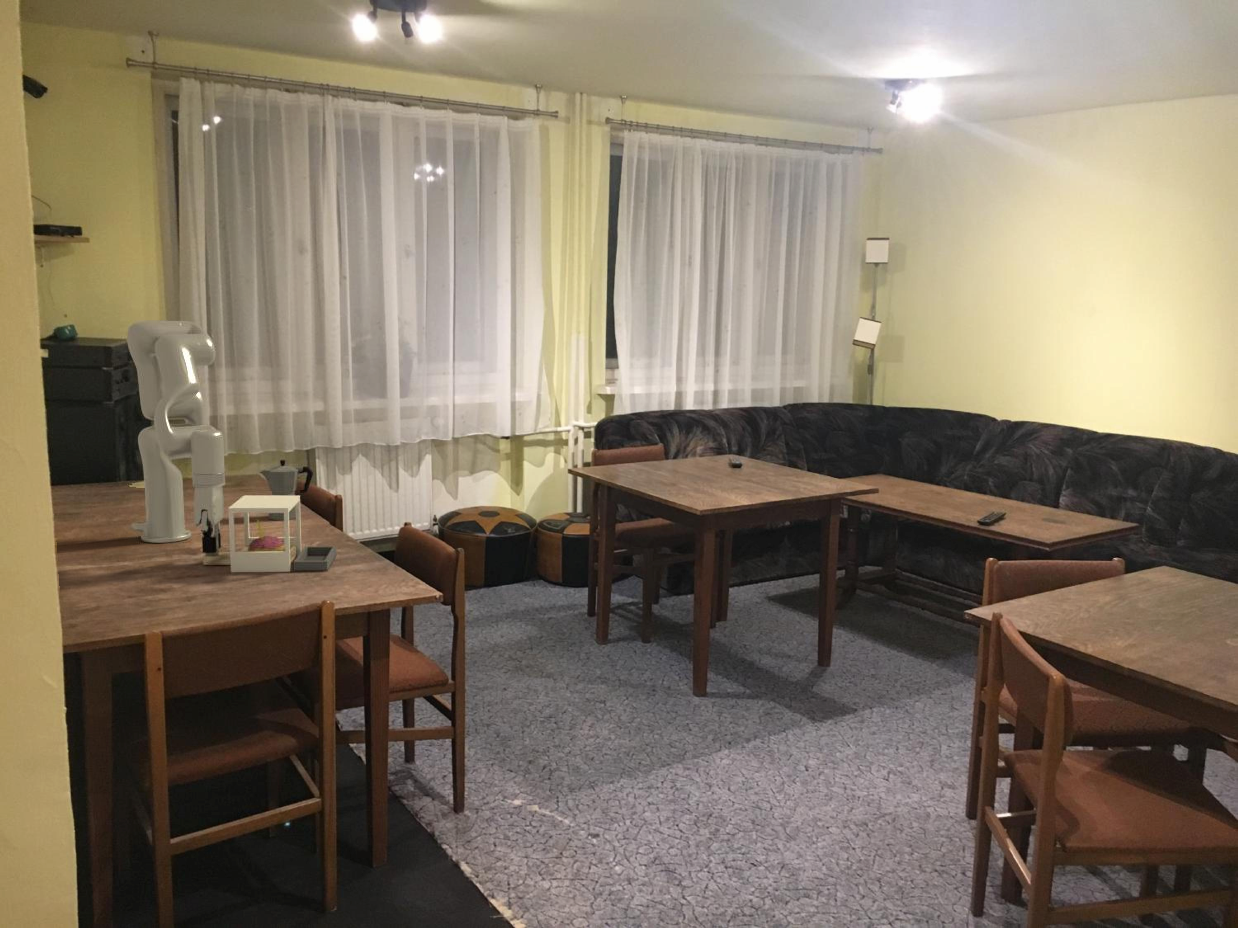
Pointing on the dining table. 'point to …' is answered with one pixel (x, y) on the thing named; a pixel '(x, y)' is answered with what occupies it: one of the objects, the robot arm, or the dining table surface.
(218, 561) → the cream frame with post
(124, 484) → the dining table surface
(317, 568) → the grey shallow rectangular tray
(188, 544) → the dining table surface
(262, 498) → the white open frame box
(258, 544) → the cupcake
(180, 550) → the dining table surface
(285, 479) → the coffeepot
